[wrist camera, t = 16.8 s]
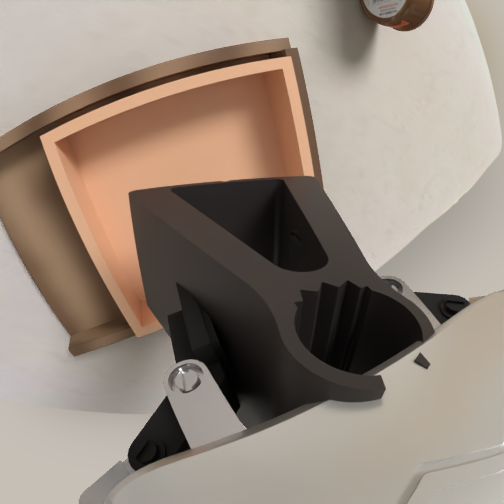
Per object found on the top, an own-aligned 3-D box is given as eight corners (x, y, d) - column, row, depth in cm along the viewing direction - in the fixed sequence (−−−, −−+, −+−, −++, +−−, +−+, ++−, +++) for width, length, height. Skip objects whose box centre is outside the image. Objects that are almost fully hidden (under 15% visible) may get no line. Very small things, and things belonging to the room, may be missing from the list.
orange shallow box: (136, 305, 27) (137, 337, 23) (58, 130, 18) (39, 136, 14) (301, 241, 29) (325, 263, 26) (265, 63, 21) (290, 56, 17)
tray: (76, 337, 27) (73, 364, 24) (-20, 155, 17) (-42, 164, 13) (312, 247, 31) (332, 264, 28) (273, 43, 21) (294, 35, 18)
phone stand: (146, 300, 16) (180, 535, 5) (128, 189, 13) (95, 455, 3) (302, 276, 18) (437, 439, 8) (312, 175, 15) (523, 305, 5)
